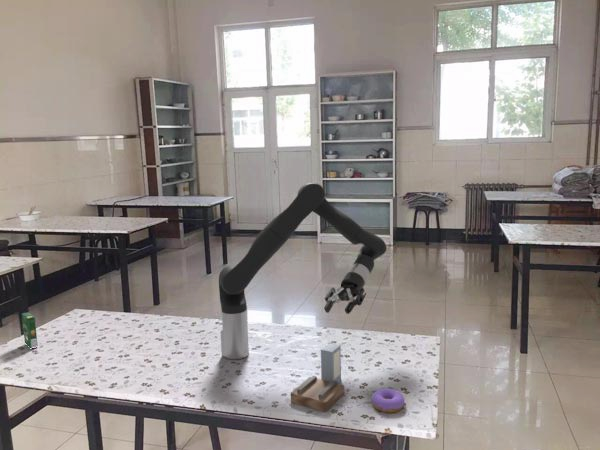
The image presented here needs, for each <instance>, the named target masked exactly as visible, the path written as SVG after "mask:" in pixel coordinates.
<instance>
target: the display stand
mask: <svg viewBox="0 0 600 450" xmlns="http://www.w3.org/2000/svg"><path fill="white" fill-rule="evenodd" d="M344 395H345V384H342V383H339V382H338V383H337V381H333V382H330V381H326V380H322V379H321V378H317V375H316V376H315V375H312V376H309V377H308V378H306V379H305V381H303V382H302V383H301V384H300V385H298V386H297V387H296V388H295V389H294V390H292V391H291V392H290V403H292V404H295V405H300V406H303V407H306V408H310V409H313V410H318V411H321V412H325V413H327V412H328V411H329V410H330V409H331V408H332V407H333V406H334V405H335V404H336V403H337V402H338V401H339V400H340V399H341V398H342V397H343V396H344Z"/></svg>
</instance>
